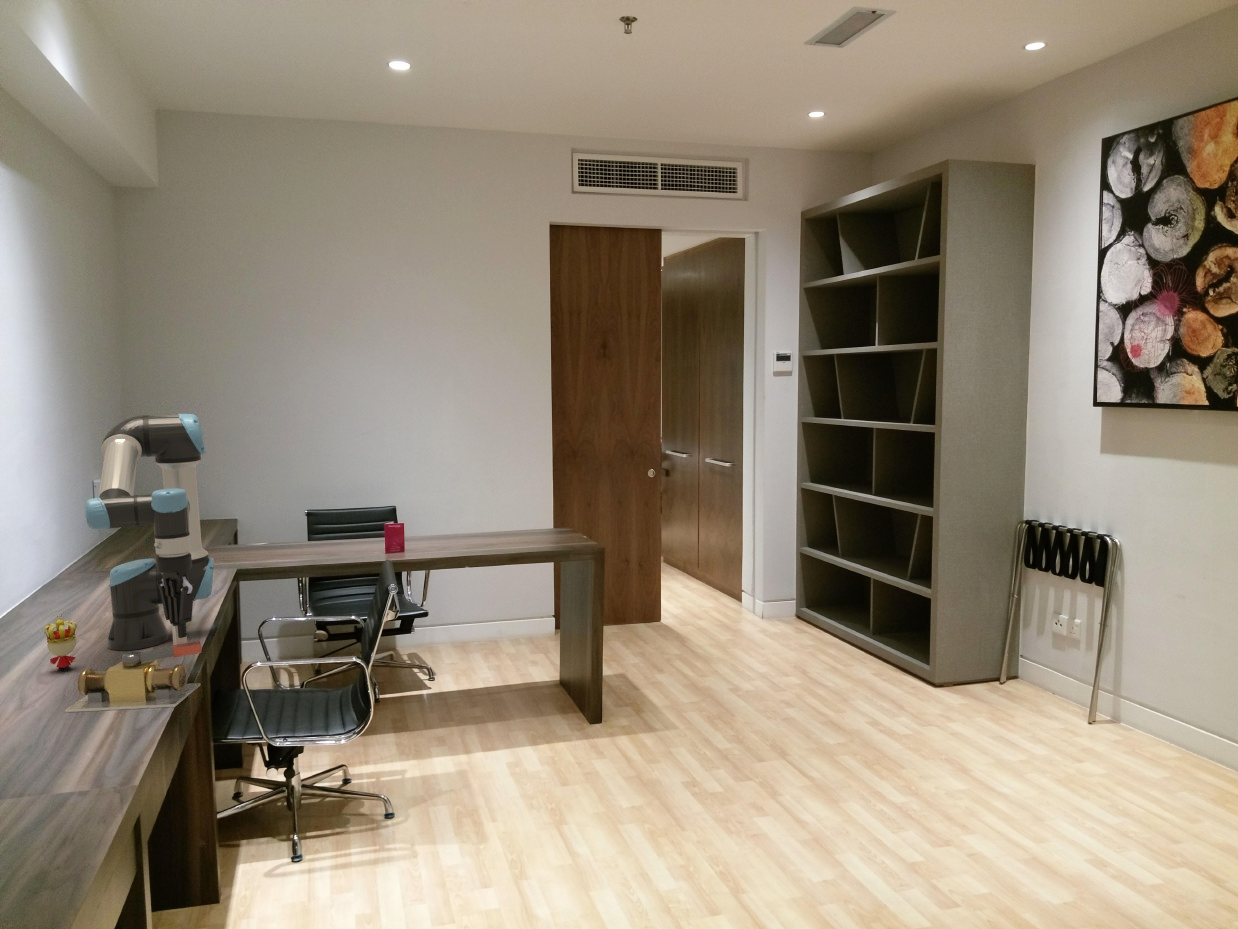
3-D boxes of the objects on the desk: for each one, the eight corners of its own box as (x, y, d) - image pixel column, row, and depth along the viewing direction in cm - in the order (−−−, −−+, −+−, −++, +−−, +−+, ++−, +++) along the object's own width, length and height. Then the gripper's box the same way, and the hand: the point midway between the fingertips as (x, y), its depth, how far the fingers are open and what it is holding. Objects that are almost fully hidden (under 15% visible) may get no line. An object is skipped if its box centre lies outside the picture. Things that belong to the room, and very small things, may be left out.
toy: (85, 665, 231) (80, 609, 230) (73, 674, 224) (67, 616, 223) (55, 667, 230) (50, 611, 229) (42, 676, 223) (37, 618, 222)
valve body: (65, 712, 197) (62, 677, 197) (97, 690, 211) (95, 658, 211) (175, 706, 199) (172, 672, 198) (200, 685, 213) (197, 653, 212)
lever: (123, 667, 202) (122, 657, 201) (122, 663, 205) (121, 653, 205) (201, 653, 210) (201, 644, 210) (199, 649, 214) (198, 640, 214)
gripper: (143, 554, 210) (151, 649, 213) (172, 559, 203) (180, 659, 205) (174, 548, 216) (181, 641, 219) (203, 553, 209) (210, 650, 212)
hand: (180, 650), depth 212 cm, fingers closed
